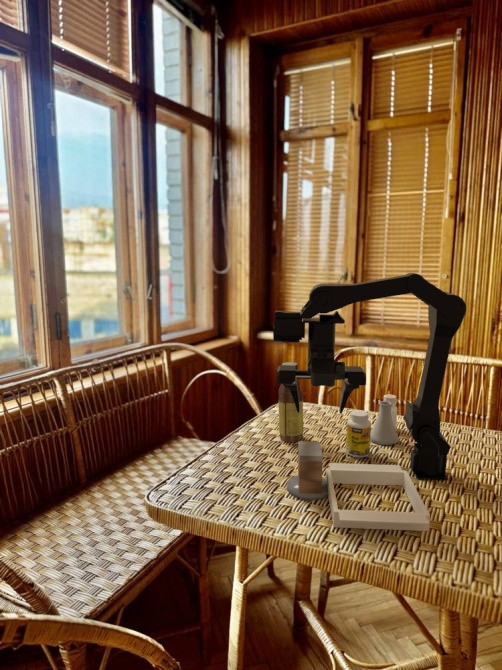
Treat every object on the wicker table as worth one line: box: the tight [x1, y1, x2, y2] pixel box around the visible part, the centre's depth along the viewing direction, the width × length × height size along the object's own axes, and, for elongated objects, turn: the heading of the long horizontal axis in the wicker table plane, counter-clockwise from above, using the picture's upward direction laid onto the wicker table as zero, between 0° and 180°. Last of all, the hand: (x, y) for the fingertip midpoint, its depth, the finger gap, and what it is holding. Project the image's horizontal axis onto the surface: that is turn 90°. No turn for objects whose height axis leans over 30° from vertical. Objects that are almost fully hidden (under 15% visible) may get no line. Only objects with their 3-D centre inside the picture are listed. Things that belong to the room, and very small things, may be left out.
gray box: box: [297, 441, 324, 494], centre depth 97 cm, size 4×6×8 cm
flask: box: [370, 400, 400, 446], centre depth 121 cm, size 7×7×10 cm
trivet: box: [286, 475, 328, 501], centre depth 98 cm, size 9×9×1 cm
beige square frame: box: [325, 462, 431, 532], centre depth 92 cm, size 17×21×3 cm
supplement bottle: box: [345, 409, 372, 459], centre depth 113 cm, size 6×6×10 cm
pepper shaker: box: [383, 393, 398, 431], centre depth 128 cm, size 4×4×10 cm
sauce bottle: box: [278, 361, 304, 443], centre depth 121 cm, size 7×6×20 cm
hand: (319, 412), depth 104 cm, fingers open, 9 cm apart
